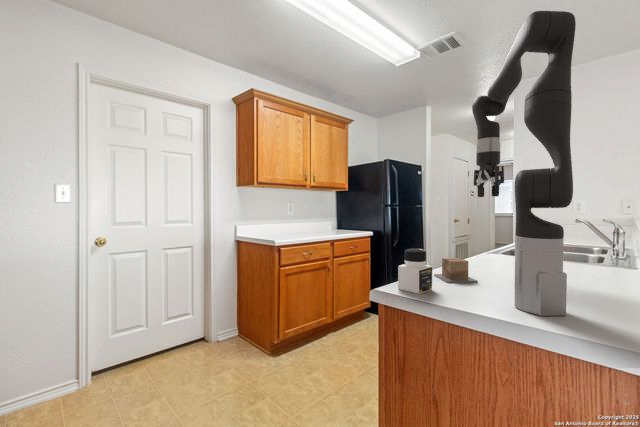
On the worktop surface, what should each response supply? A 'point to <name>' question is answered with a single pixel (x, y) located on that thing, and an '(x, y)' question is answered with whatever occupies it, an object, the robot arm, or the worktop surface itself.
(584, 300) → the worktop surface
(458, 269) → the walnut block
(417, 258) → the medicine bottle
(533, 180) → the robot arm
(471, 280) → the slate coaster
